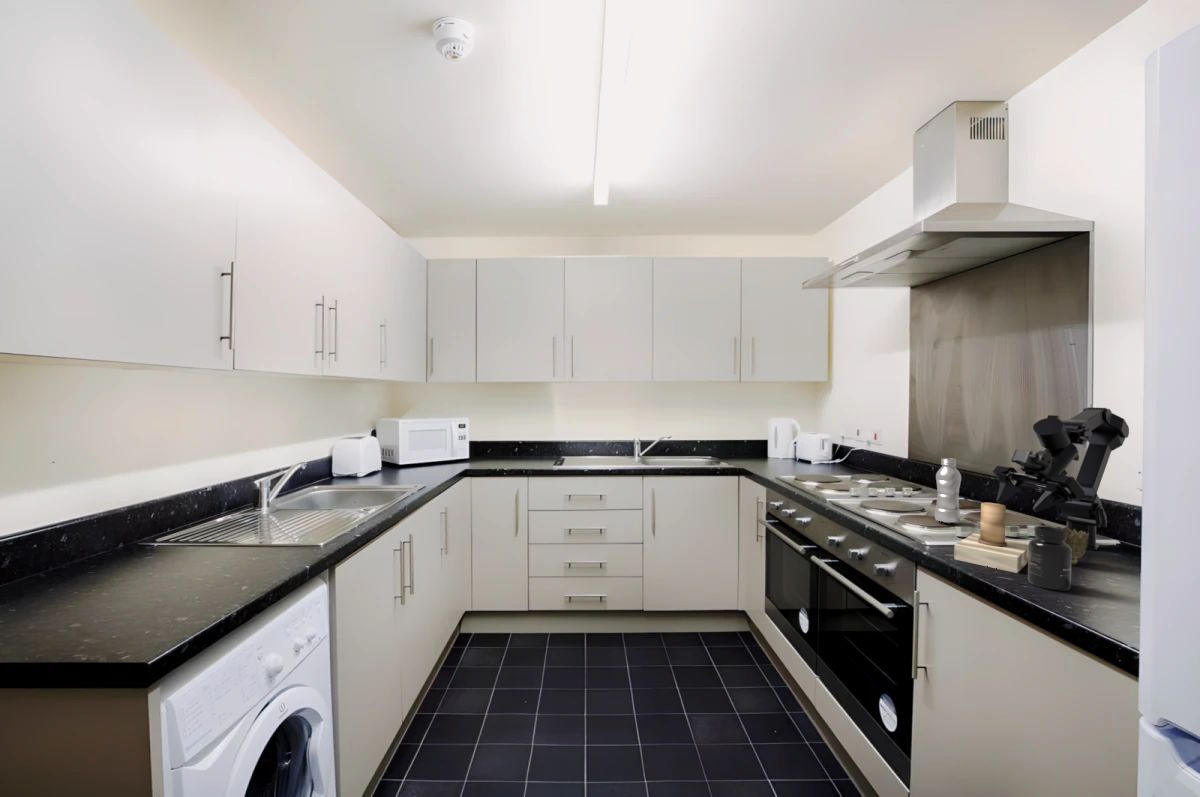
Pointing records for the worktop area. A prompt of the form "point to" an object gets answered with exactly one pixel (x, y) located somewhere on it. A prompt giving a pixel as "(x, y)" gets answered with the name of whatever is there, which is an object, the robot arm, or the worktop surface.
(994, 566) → the light wooden block
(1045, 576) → the supplement bottle
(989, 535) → the oak peg
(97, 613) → the worktop surface
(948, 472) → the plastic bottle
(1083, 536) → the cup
